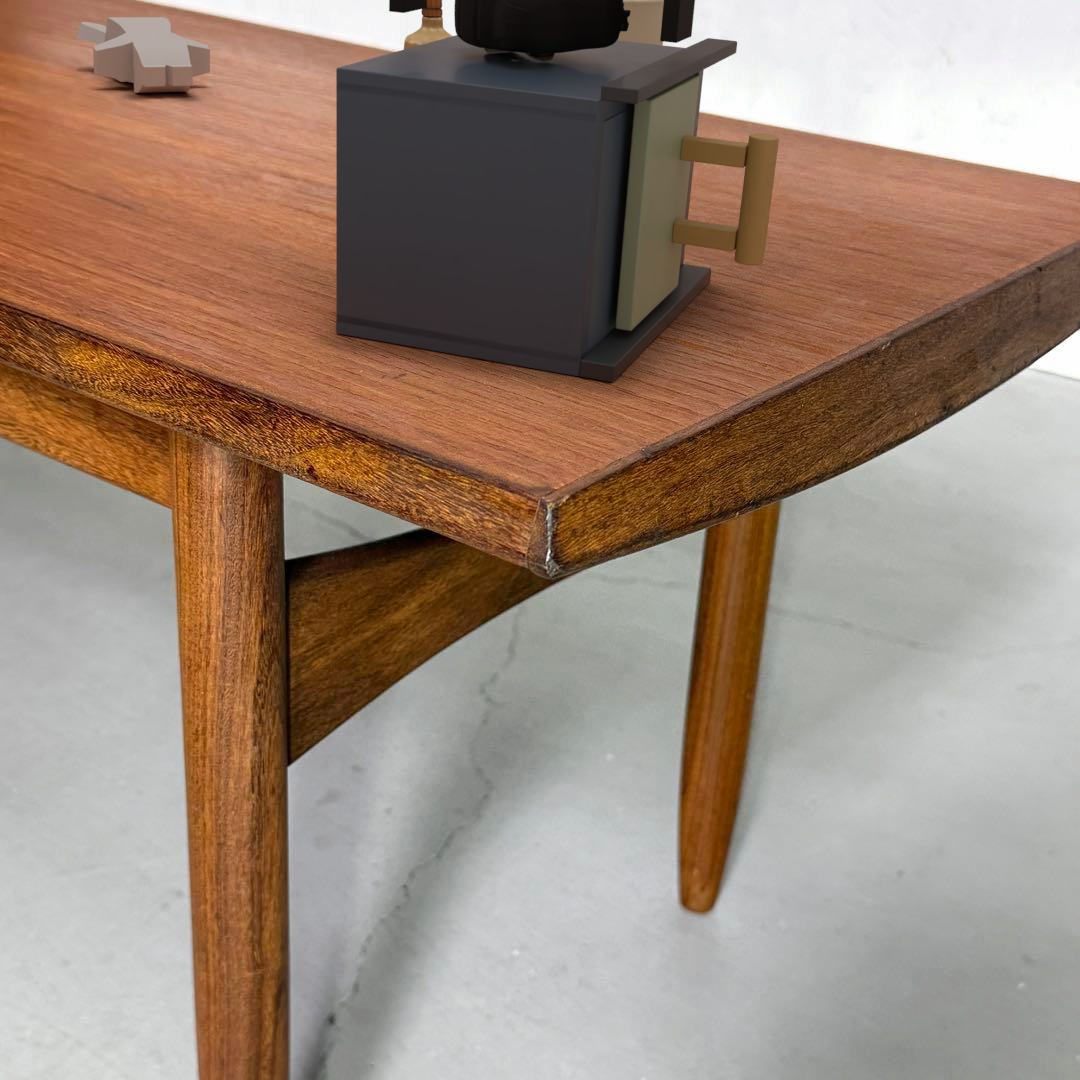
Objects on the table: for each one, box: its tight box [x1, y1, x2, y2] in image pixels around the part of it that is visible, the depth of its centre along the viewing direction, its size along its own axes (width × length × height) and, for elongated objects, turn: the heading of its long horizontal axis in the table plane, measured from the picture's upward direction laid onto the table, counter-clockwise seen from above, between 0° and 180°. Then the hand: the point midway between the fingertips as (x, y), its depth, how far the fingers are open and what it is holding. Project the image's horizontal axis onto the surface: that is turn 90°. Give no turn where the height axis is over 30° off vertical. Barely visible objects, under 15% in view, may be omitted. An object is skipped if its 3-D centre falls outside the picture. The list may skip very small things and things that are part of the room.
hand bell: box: [403, 0, 453, 50], centre depth 120 cm, size 8×8×16 cm
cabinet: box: [335, 34, 738, 383], centre depth 72 cm, size 14×18×13 cm
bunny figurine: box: [75, 16, 211, 94], centre depth 124 cm, size 10×5×15 cm
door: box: [615, 75, 780, 331], centre depth 69 cm, size 5×8×10 cm, turn 160°
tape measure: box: [453, 0, 631, 62], centre depth 70 cm, size 7×7×4 cm
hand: (538, 24), depth 70 cm, fingers open, 13 cm apart
